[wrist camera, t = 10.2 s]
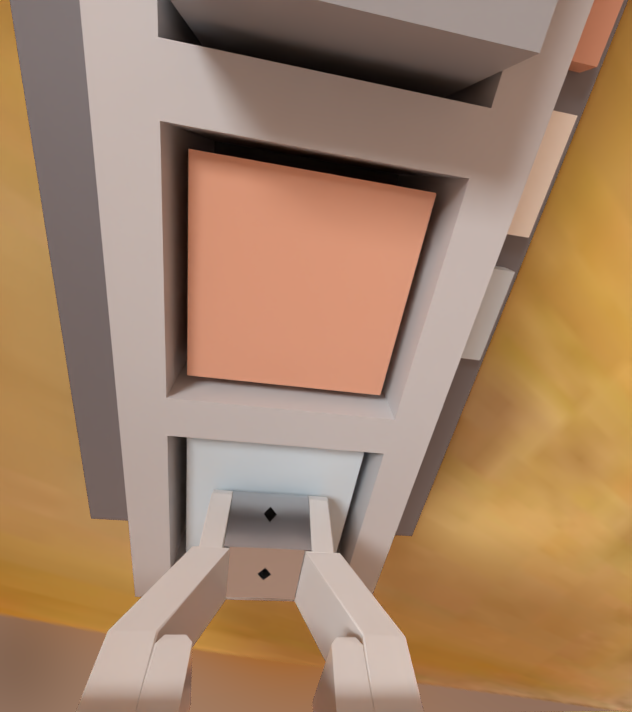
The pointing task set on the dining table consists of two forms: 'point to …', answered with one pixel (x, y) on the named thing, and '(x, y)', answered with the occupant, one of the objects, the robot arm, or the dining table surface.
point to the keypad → (293, 149)
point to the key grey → (379, 37)
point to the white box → (267, 477)
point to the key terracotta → (297, 273)
